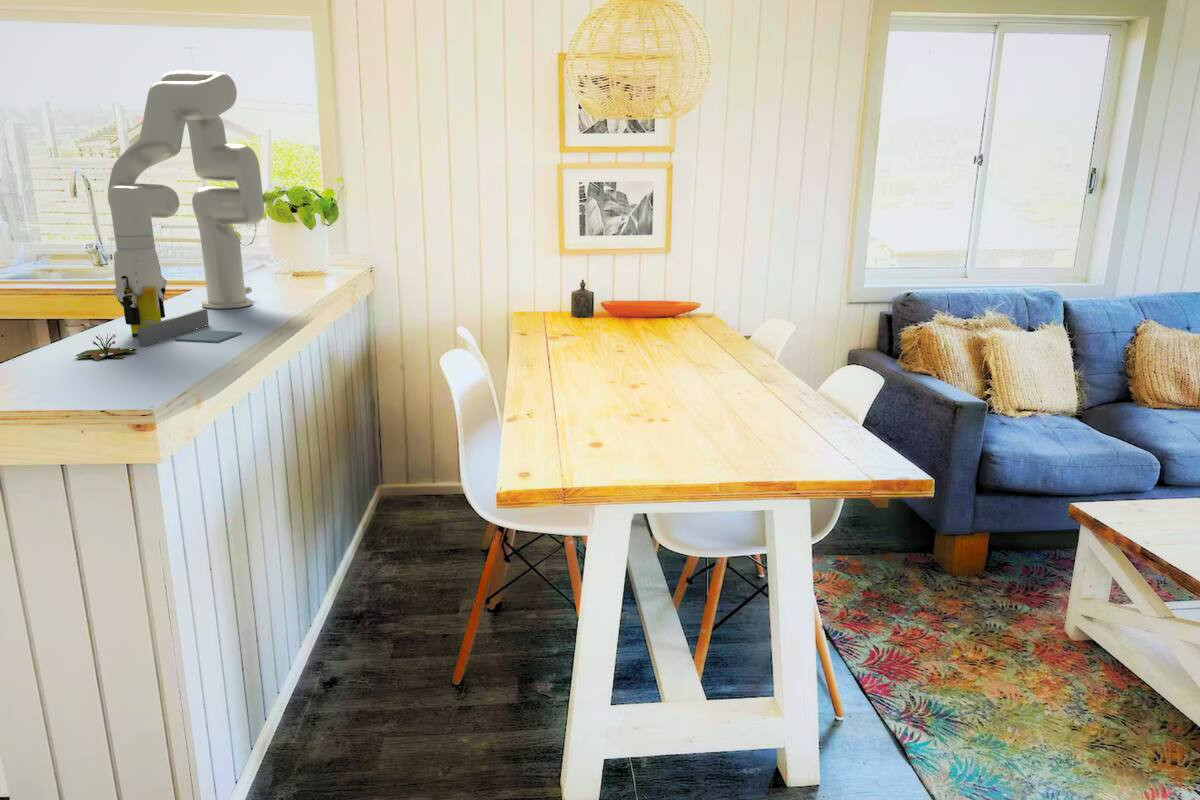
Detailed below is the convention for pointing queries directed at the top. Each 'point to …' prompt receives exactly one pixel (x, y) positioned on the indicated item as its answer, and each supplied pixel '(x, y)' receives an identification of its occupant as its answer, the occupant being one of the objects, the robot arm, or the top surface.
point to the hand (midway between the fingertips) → (146, 320)
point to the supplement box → (146, 308)
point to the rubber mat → (208, 336)
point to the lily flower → (104, 350)
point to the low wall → (172, 327)
